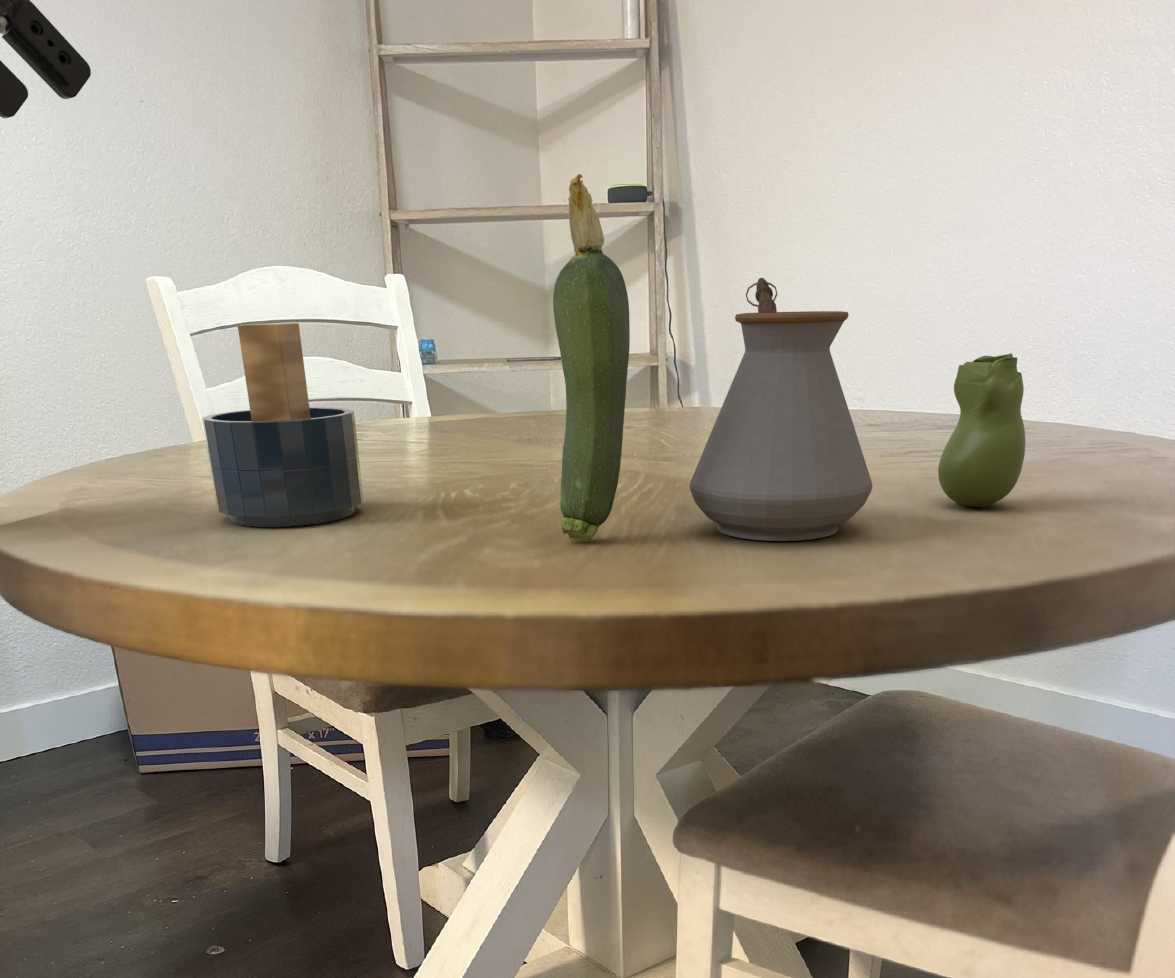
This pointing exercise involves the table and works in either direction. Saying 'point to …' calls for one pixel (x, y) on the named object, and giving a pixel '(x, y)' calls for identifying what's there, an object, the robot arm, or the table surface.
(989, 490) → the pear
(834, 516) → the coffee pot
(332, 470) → the bowl
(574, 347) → the vegetable
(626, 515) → the table surface
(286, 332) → the long rectangular wooden block
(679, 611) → the table surface
